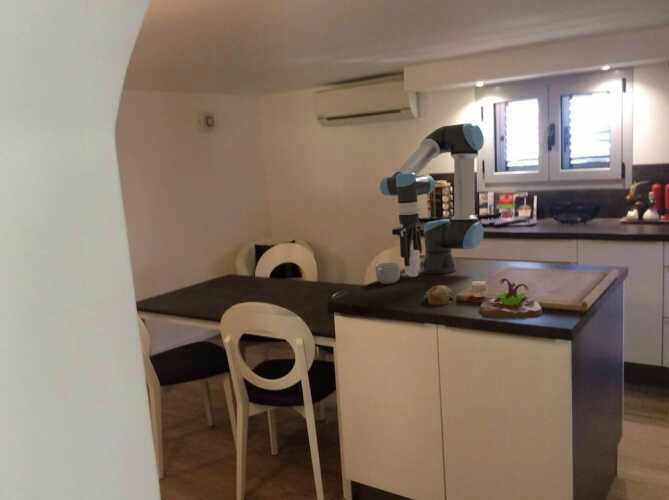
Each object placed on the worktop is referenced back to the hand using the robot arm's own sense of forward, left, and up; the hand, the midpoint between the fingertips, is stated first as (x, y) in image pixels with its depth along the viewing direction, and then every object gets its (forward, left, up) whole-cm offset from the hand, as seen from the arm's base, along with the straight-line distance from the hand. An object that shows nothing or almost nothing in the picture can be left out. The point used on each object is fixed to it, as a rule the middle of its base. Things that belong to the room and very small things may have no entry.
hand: (412, 271), depth 235 cm
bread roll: (+10, +15, -9) cm, 20 cm away
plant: (+14, +43, -9) cm, 46 cm away
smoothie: (0, 0, -2) cm, 2 cm away
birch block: (-2, +26, -9) cm, 27 cm away
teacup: (-14, -20, -9) cm, 26 cm away
